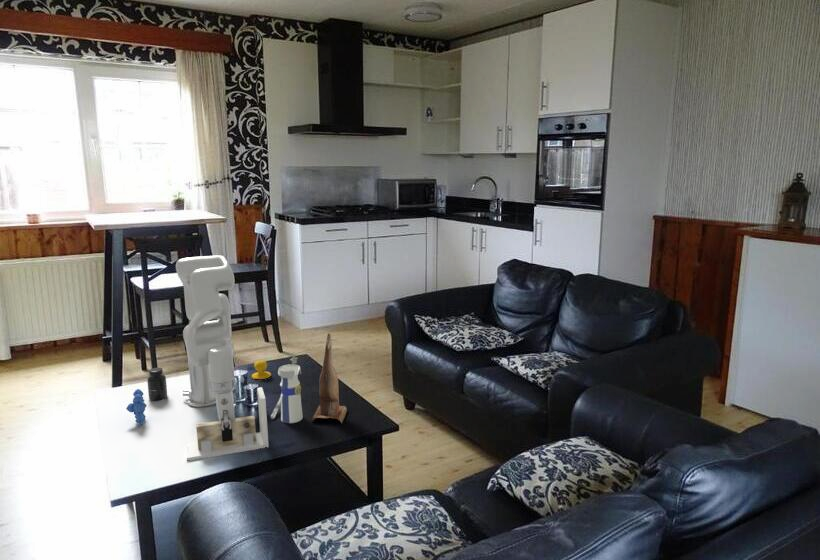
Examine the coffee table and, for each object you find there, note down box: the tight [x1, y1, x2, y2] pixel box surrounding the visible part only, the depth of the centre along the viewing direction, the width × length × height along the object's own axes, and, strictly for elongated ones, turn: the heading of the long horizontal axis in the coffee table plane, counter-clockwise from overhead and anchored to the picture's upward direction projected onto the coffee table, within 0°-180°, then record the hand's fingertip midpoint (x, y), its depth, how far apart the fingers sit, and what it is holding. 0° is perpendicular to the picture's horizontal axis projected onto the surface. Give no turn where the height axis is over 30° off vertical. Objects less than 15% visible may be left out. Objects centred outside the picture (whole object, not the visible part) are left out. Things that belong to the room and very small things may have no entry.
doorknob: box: [251, 359, 272, 380], centre depth 254 cm, size 8×8×8 cm
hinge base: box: [186, 386, 270, 461], centre depth 190 cm, size 25×10×17 cm, turn 110°
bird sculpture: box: [311, 332, 348, 424], centre depth 210 cm, size 11×12×32 cm
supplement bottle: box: [146, 367, 168, 402], centre depth 232 cm, size 7×7×12 cm
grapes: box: [125, 388, 147, 425], centre depth 210 cm, size 12×7×12 cm, turn 24°
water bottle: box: [277, 355, 303, 424], centre depth 210 cm, size 8×9×25 cm
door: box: [195, 415, 257, 450], centre depth 191 cm, size 18×3×8 cm, turn 110°
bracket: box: [270, 396, 281, 420], centre depth 223 cm, size 3×21×10 cm, turn 173°
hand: (226, 434), depth 191 cm, fingers open, 9 cm apart
